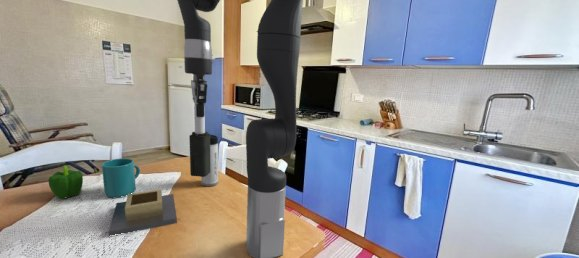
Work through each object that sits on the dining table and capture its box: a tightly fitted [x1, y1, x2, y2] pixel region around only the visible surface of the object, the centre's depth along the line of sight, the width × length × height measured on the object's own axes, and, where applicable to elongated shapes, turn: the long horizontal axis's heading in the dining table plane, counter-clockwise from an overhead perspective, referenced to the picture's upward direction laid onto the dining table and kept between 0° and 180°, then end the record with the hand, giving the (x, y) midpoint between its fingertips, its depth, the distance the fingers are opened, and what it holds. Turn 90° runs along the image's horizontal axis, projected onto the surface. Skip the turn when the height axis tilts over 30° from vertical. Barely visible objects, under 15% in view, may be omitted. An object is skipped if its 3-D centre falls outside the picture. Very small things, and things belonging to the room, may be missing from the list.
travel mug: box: [201, 134, 219, 187], centre depth 95 cm, size 6×7×20 cm
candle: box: [188, 96, 211, 178], centre depth 75 cm, size 5×5×25 cm
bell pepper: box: [48, 164, 84, 199], centre depth 81 cm, size 8×8×10 cm
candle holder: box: [107, 188, 178, 237], centre depth 73 cm, size 16×16×6 cm
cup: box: [101, 157, 141, 198], centre depth 86 cm, size 9×12×11 cm
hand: (199, 115), depth 74 cm, fingers closed on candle, 3 cm apart
